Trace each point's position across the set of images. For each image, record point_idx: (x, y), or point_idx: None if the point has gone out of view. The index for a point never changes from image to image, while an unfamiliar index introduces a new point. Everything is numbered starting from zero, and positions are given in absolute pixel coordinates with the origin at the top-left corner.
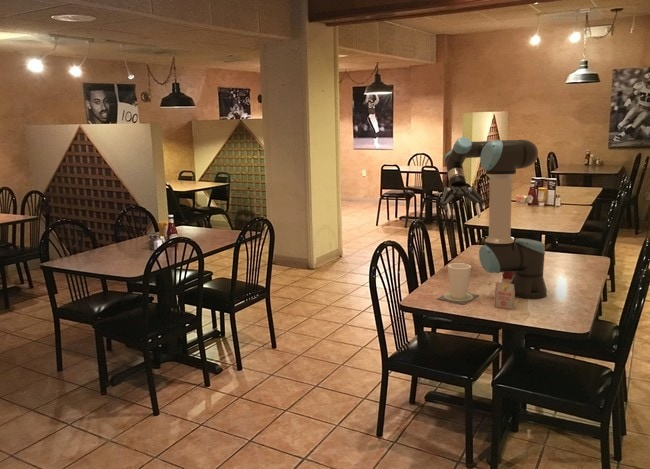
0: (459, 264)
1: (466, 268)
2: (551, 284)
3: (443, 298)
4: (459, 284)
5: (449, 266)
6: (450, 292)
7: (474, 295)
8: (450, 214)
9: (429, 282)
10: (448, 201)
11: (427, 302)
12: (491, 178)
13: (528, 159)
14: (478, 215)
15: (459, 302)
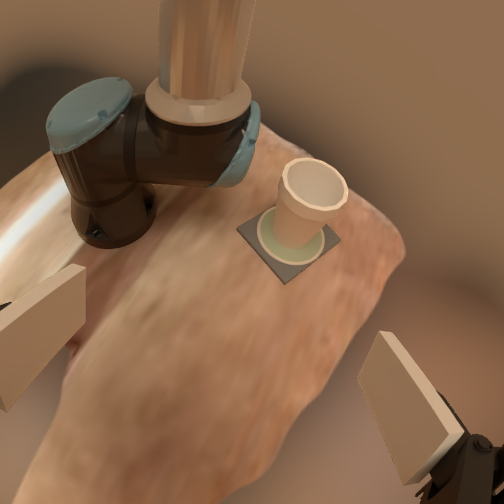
0: (307, 204)
1: (305, 158)
2: (21, 249)
3: (328, 233)
4: (307, 194)
5: (345, 188)
6: (301, 262)
7: (249, 228)
8: (384, 335)
9: (322, 379)
10: (454, 482)
11: (362, 231)
12: None
13: None
14: (82, 298)
15: None
